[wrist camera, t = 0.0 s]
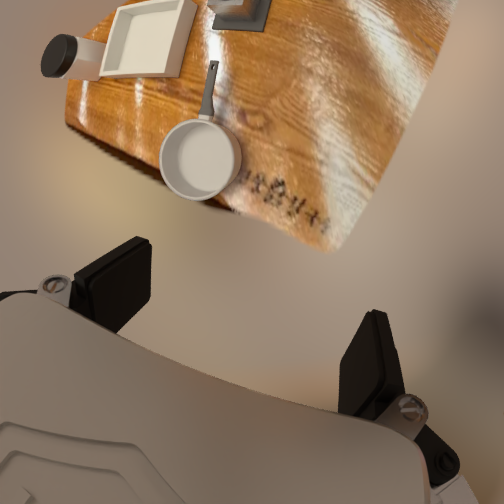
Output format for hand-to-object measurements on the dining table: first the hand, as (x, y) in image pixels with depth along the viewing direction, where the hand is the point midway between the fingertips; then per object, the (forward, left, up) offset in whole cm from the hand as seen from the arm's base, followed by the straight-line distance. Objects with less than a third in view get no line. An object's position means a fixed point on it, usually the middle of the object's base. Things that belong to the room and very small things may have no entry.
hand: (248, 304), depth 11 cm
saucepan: (-5, -15, -32) cm, 35 cm away
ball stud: (-26, -15, -31) cm, 43 cm away
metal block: (-26, -15, -31) cm, 43 cm away
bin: (-20, -30, -31) cm, 48 cm away
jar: (-17, -43, -31) cm, 56 cm away
